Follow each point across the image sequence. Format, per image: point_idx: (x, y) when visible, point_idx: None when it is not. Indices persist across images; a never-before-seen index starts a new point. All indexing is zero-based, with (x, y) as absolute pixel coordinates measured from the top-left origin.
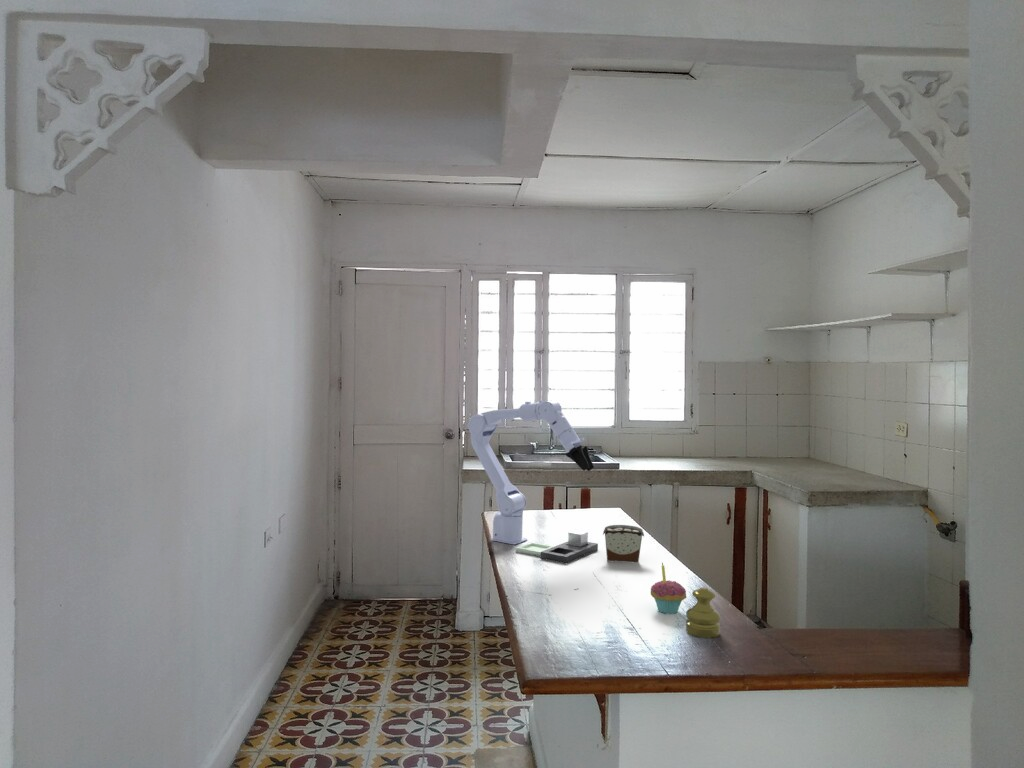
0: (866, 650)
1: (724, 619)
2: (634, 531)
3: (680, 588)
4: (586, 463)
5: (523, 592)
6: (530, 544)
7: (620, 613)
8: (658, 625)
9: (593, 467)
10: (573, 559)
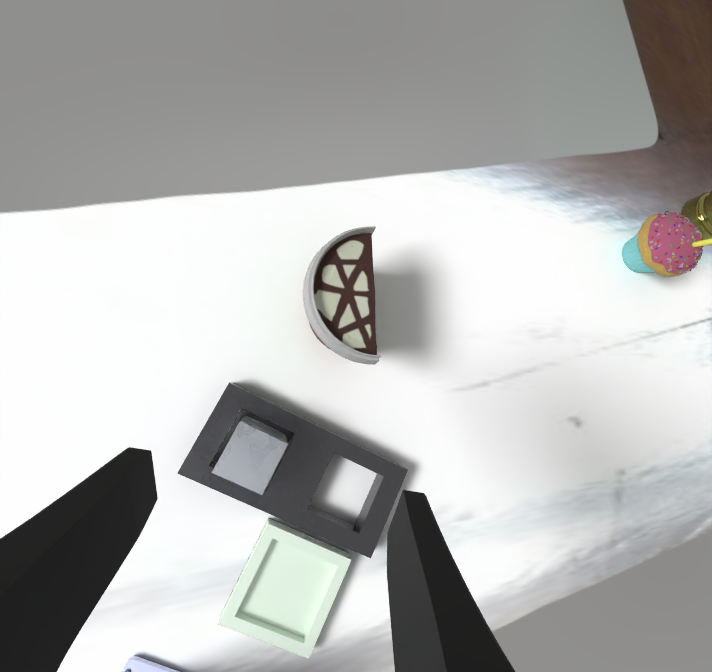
0: (688, 38)
1: (644, 176)
2: (361, 255)
3: (688, 220)
4: (441, 540)
5: (623, 530)
6: (247, 620)
7: (667, 336)
8: (693, 281)
9: (150, 453)
10: (367, 449)
